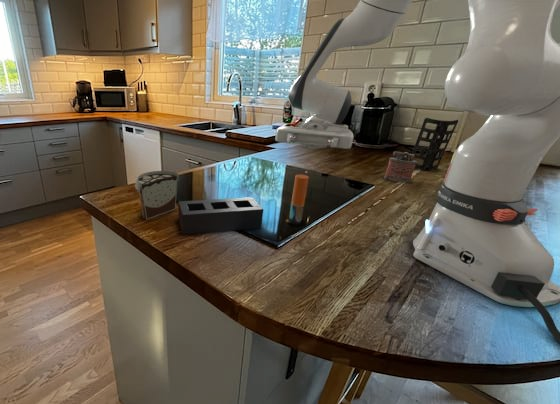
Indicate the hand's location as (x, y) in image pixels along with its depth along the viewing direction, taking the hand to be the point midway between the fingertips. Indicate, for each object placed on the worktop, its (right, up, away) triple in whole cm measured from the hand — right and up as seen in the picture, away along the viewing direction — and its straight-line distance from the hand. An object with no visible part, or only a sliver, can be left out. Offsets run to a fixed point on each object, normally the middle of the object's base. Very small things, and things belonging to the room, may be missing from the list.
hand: (310, 142), depth 77 cm
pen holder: (-24, -21, -5) cm, 32 cm away
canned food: (+60, -11, +23) cm, 66 cm away
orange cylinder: (-5, -21, -3) cm, 22 cm away
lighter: (+42, -8, +29) cm, 52 cm away
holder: (+62, -2, +43) cm, 76 cm away
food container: (-41, -18, +1) cm, 45 cm away
